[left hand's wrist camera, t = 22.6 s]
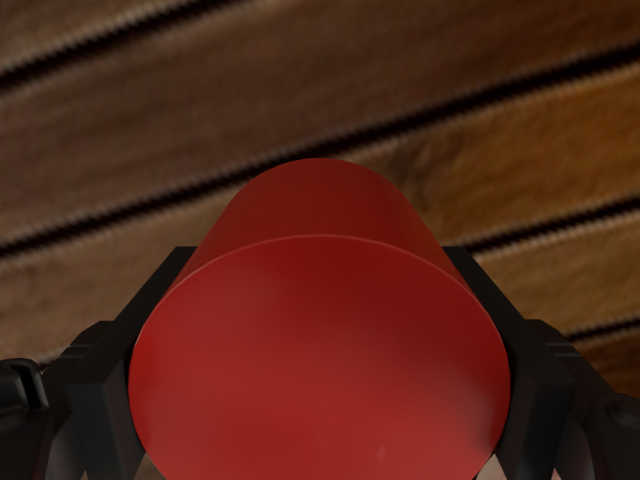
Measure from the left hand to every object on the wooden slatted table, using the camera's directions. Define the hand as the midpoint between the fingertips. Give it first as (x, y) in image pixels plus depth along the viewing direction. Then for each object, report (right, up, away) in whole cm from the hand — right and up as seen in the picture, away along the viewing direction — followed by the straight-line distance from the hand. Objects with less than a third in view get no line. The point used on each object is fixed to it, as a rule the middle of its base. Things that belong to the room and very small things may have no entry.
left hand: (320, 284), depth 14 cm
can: (0, +1, +1) cm, 1 cm away
